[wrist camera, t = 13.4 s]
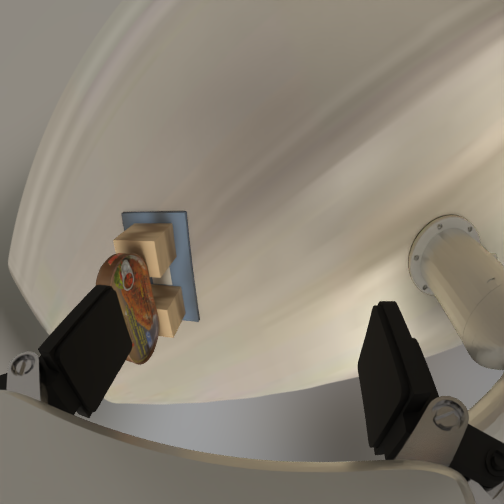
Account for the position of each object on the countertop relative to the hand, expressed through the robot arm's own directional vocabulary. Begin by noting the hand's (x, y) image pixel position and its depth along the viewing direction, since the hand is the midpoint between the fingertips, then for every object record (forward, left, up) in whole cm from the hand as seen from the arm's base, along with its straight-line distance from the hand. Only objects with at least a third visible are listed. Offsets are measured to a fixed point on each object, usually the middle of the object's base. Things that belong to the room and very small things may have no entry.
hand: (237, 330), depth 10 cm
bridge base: (+17, +14, -28) cm, 36 cm away
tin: (+17, +14, -22) cm, 31 cm away
